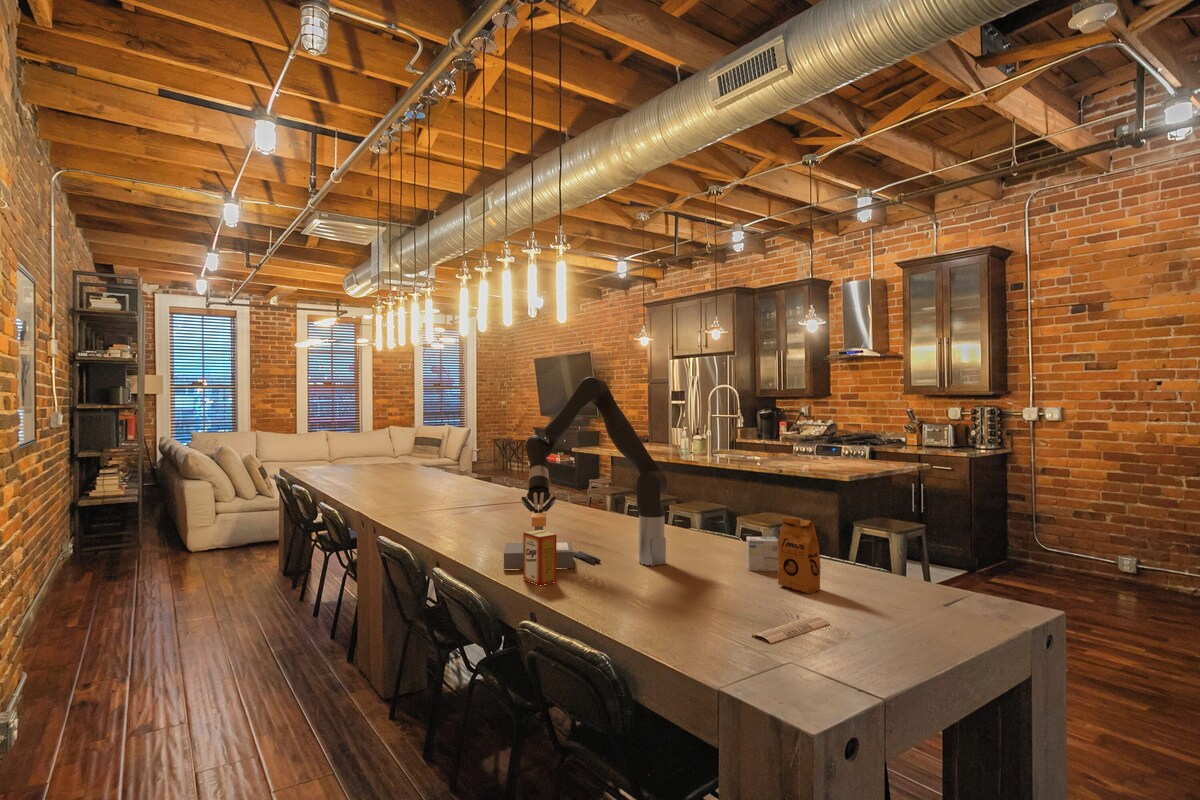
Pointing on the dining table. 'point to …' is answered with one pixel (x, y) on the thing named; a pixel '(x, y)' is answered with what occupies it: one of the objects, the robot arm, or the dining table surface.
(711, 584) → the dining table surface
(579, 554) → the dark grey ridged bar
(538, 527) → the breaker lever
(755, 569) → the light bulb box
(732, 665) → the dining table surface
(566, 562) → the breaker block
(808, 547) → the coffee package
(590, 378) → the robot arm
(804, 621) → the newspaper
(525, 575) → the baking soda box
